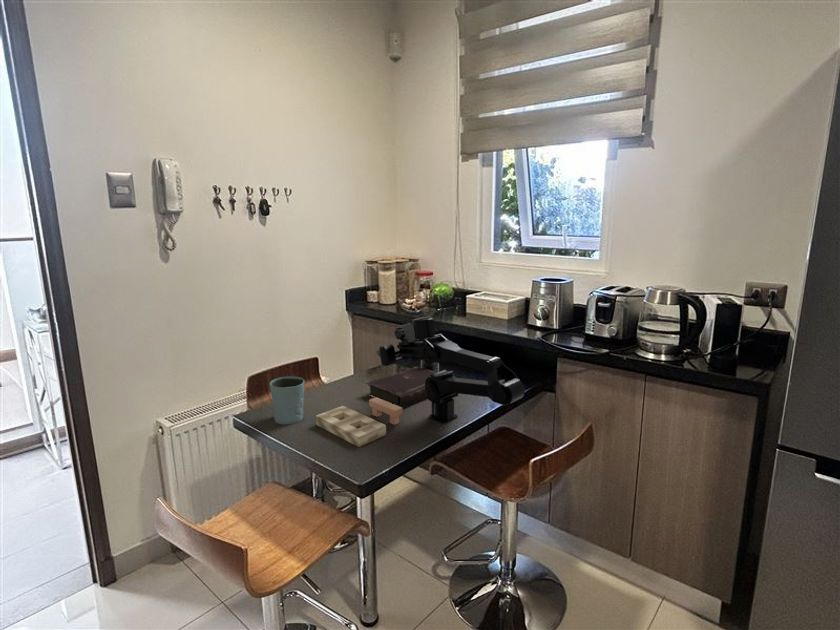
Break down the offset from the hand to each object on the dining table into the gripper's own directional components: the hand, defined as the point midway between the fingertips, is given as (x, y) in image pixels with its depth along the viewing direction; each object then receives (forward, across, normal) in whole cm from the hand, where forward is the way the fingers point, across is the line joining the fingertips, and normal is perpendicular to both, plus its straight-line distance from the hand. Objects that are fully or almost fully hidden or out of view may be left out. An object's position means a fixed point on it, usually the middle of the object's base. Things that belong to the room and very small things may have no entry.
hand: (387, 349), depth 166 cm
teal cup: (+11, +34, +15) cm, 38 cm away
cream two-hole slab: (-8, +25, +18) cm, 32 cm away
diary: (+1, -8, +18) cm, 19 cm away
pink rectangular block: (-10, +13, +19) cm, 25 cm away
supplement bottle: (+6, -24, +16) cm, 29 cm away
